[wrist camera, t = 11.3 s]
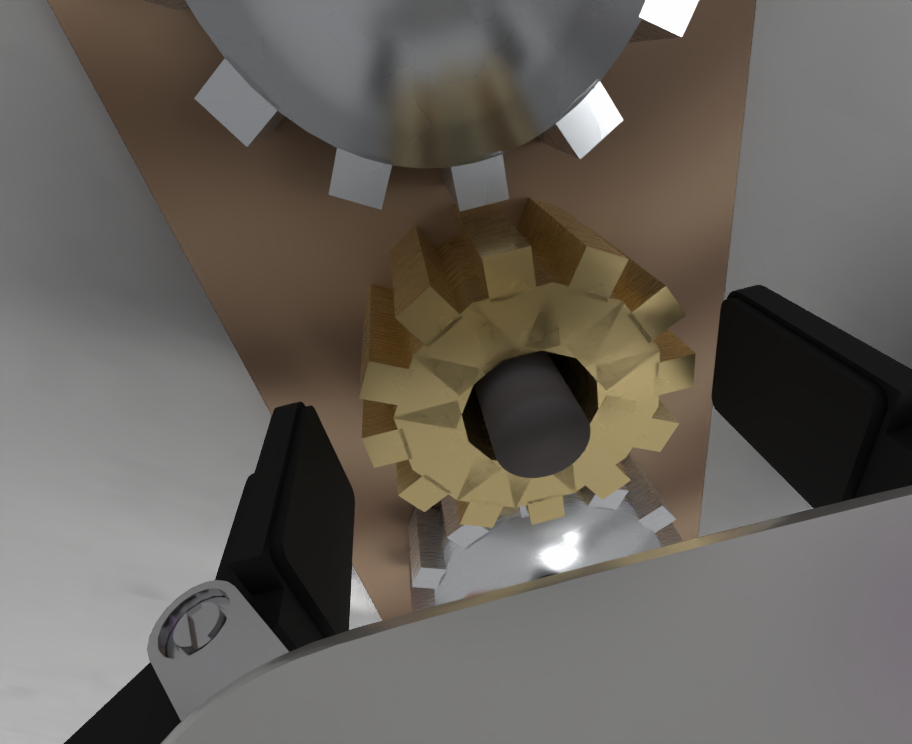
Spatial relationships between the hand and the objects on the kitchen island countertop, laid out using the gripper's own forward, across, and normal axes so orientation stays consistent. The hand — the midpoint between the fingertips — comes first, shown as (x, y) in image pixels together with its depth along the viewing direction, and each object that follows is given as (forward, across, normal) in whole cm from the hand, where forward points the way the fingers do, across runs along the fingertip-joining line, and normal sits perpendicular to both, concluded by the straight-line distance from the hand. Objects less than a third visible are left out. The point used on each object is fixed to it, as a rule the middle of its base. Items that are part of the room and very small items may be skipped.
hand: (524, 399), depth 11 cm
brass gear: (+4, 0, 0) cm, 4 cm away
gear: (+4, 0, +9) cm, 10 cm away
